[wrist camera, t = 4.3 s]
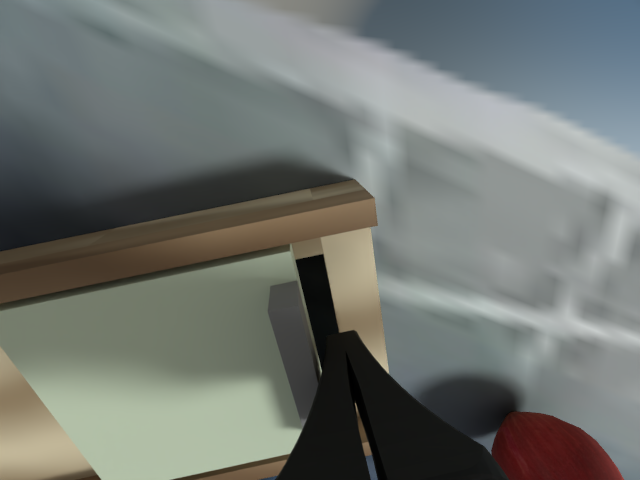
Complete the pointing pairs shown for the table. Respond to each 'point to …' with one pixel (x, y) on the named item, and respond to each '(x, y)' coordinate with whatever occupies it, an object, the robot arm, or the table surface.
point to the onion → (549, 450)
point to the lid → (173, 364)
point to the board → (174, 251)
